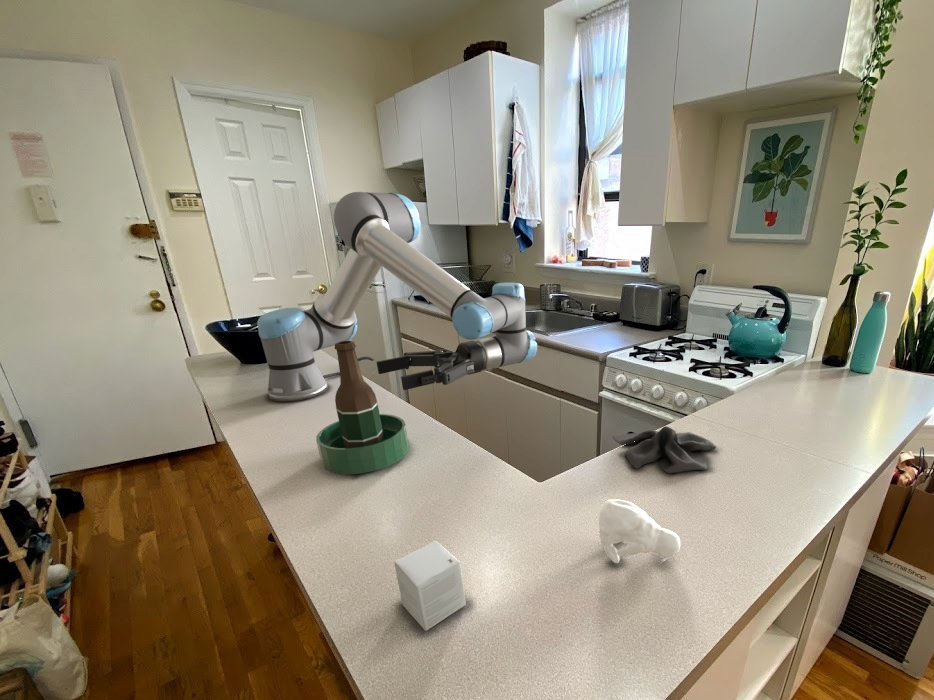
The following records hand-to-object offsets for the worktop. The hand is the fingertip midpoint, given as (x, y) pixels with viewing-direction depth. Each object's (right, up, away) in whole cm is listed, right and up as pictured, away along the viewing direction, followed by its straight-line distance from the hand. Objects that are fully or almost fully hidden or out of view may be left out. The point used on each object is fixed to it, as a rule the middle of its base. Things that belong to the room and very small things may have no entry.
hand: (389, 375), depth 97 cm
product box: (+19, -33, -37) cm, 53 cm away
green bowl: (-5, -17, +2) cm, 18 cm away
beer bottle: (-5, -17, +1) cm, 17 cm away
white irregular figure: (+47, -29, -28) cm, 62 cm away
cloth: (+57, -16, +1) cm, 59 cm away
